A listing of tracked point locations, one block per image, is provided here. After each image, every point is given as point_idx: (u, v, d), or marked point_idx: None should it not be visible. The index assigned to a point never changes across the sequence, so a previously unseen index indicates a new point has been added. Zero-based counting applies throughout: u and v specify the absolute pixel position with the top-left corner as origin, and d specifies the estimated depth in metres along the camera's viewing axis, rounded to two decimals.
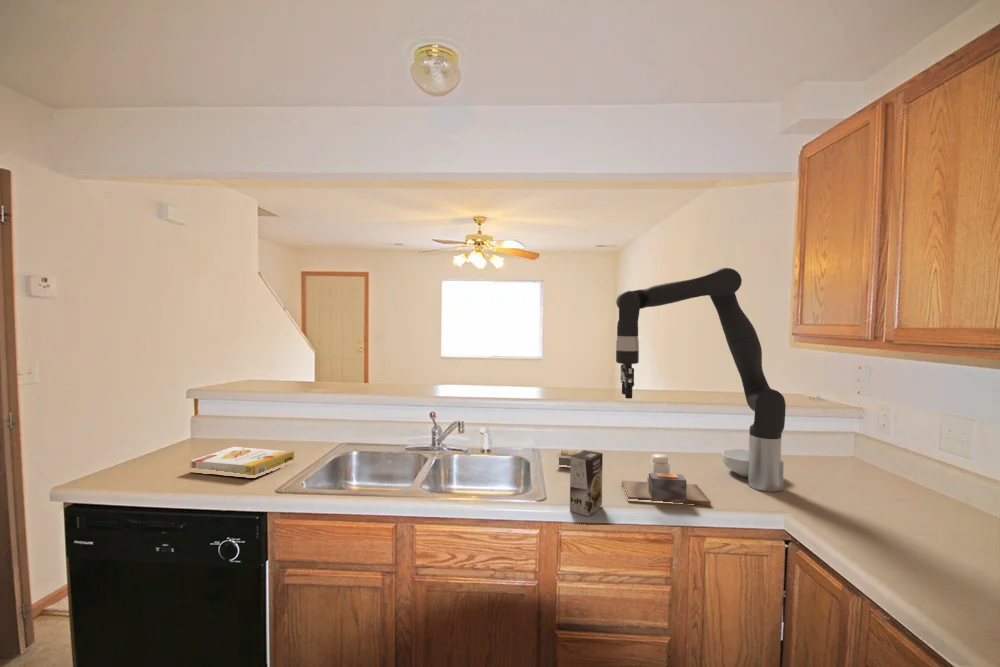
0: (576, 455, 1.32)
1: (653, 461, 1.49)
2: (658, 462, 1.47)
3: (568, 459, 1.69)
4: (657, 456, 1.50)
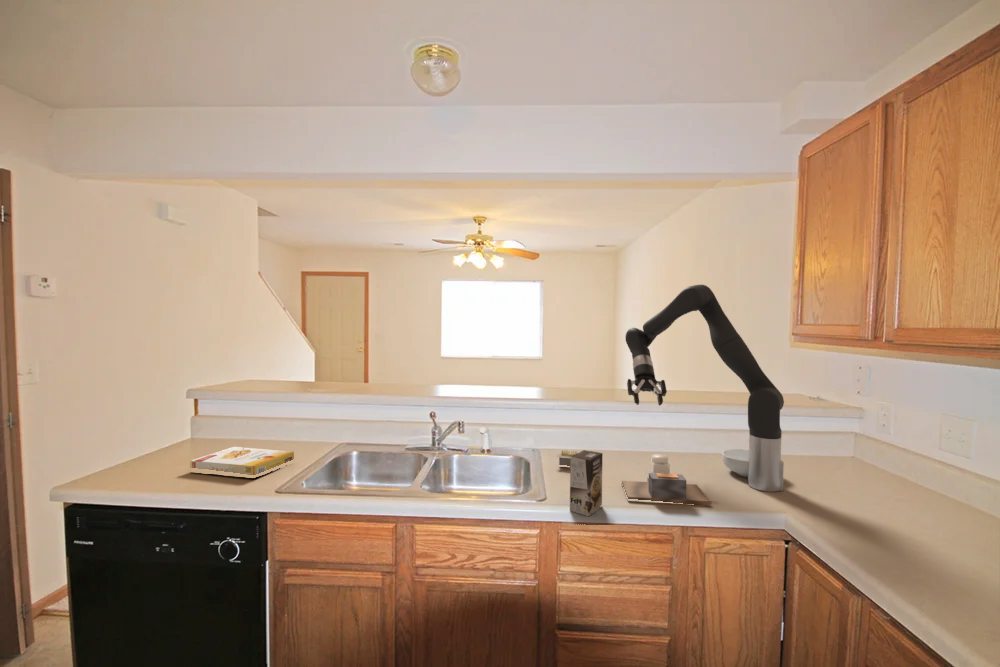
0: (576, 455, 1.32)
1: (653, 461, 1.49)
2: (658, 462, 1.47)
3: (568, 459, 1.69)
4: (657, 456, 1.50)
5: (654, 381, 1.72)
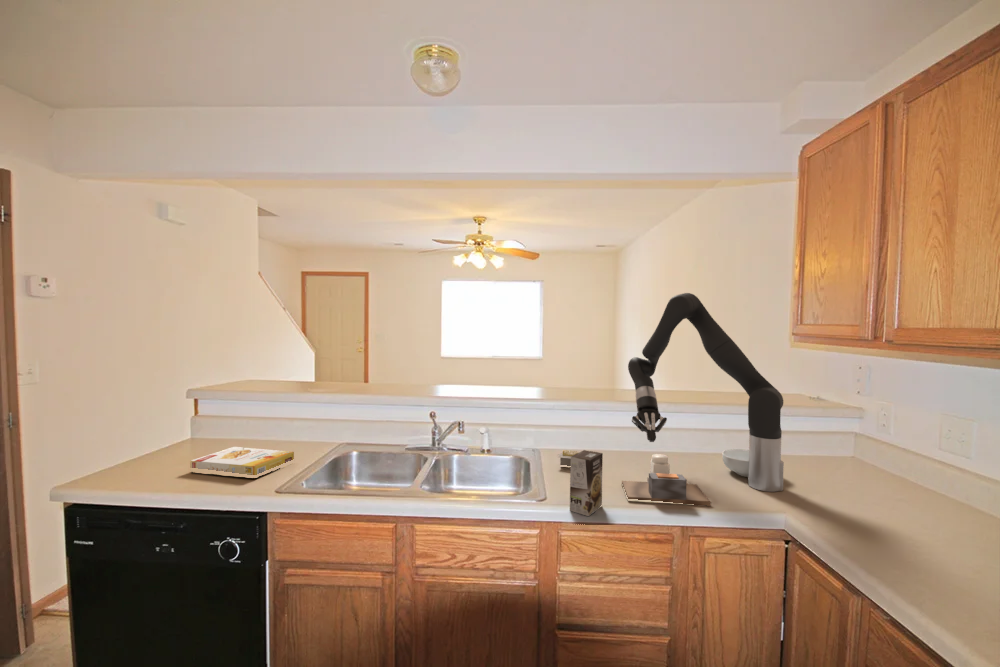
0: (576, 455, 1.32)
1: (653, 461, 1.49)
2: (658, 462, 1.47)
3: (570, 459, 1.69)
4: (657, 456, 1.50)
5: (657, 417, 1.67)
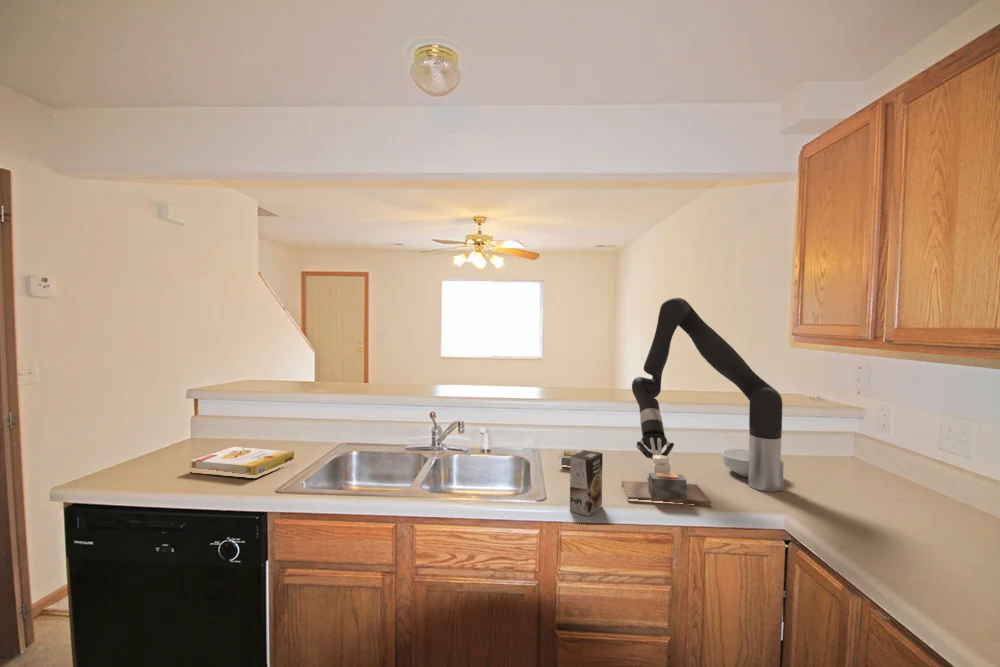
0: (576, 455, 1.32)
1: (654, 462, 1.48)
2: (659, 463, 1.46)
3: None
4: (658, 456, 1.49)
5: (664, 442, 1.57)
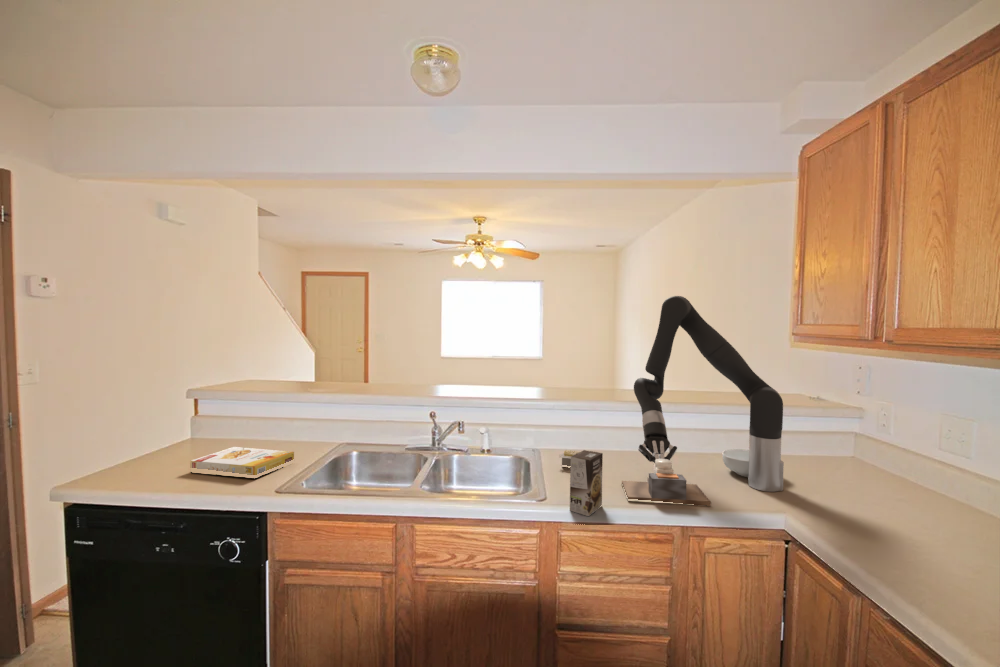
0: (576, 455, 1.32)
1: (656, 466, 1.44)
2: (662, 467, 1.42)
3: None
4: (660, 460, 1.44)
5: (666, 446, 1.52)
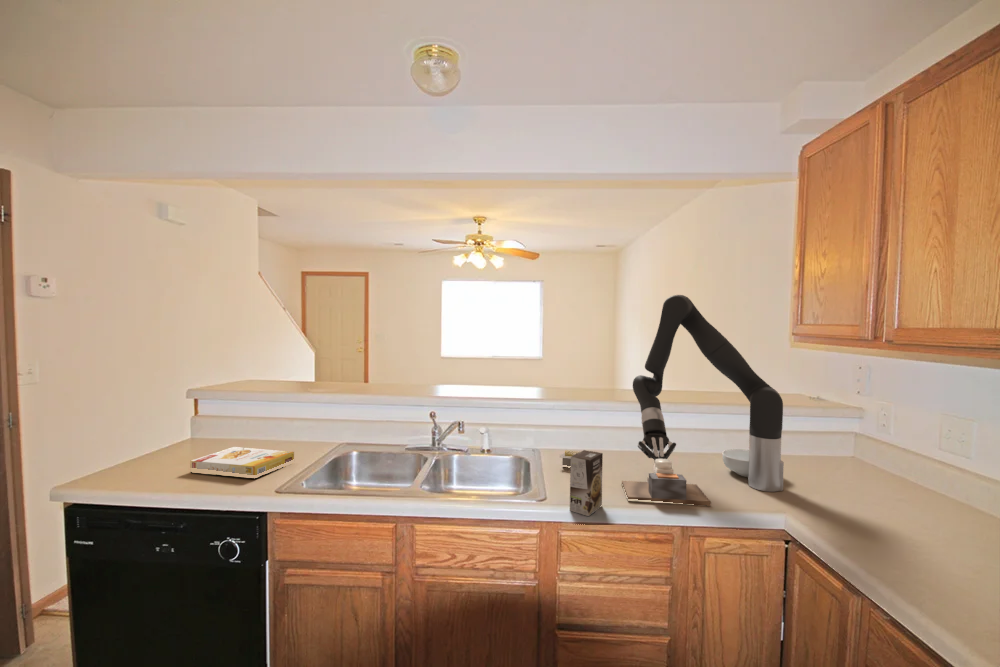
0: (576, 455, 1.32)
1: (656, 466, 1.44)
2: (662, 467, 1.42)
3: None
4: (660, 460, 1.44)
5: (666, 442, 1.53)
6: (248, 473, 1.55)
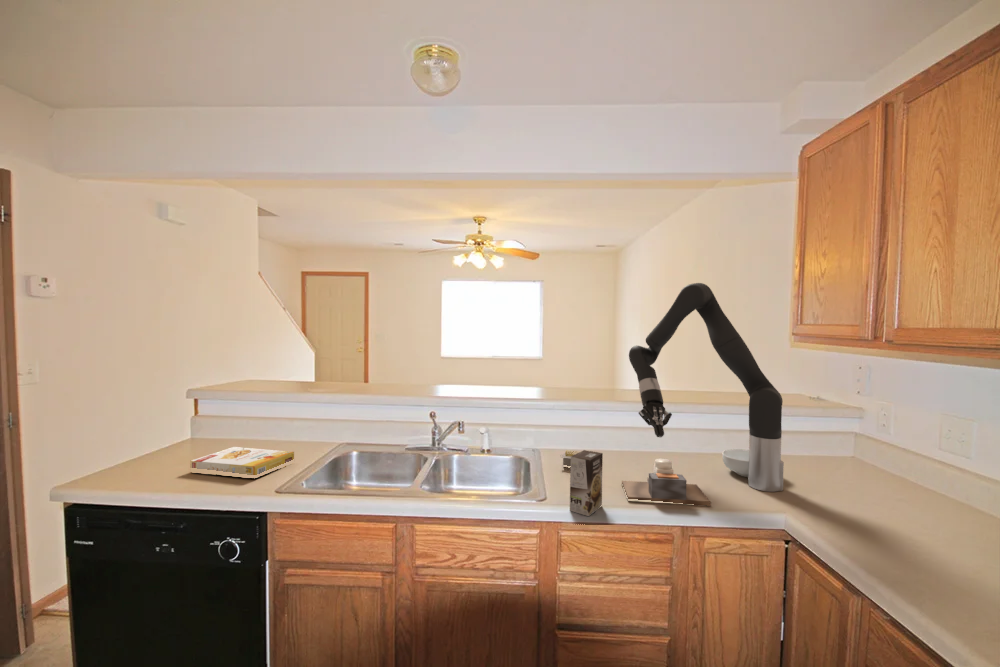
0: (576, 455, 1.32)
1: (656, 466, 1.44)
2: (662, 467, 1.42)
3: None
4: (660, 460, 1.44)
5: (663, 412, 1.65)
6: (248, 473, 1.55)
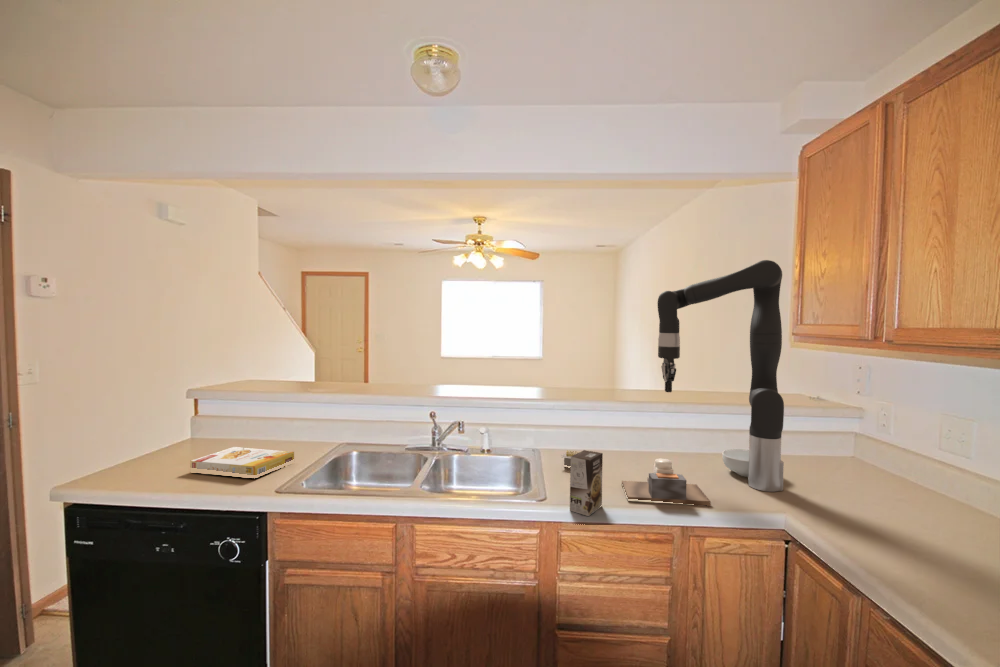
0: (576, 455, 1.32)
1: (656, 466, 1.44)
2: (662, 467, 1.42)
3: None
4: (660, 460, 1.44)
5: None
6: (248, 473, 1.55)
